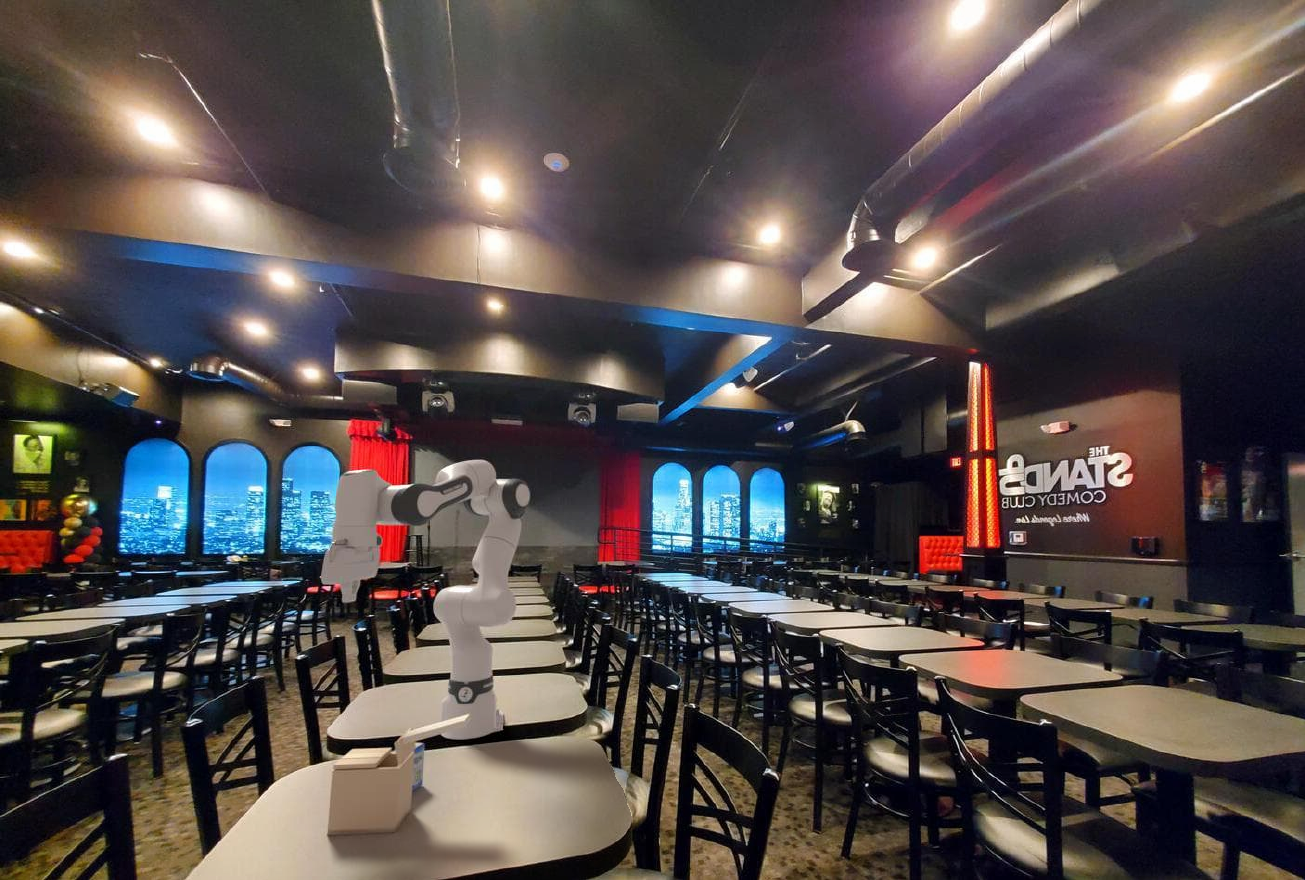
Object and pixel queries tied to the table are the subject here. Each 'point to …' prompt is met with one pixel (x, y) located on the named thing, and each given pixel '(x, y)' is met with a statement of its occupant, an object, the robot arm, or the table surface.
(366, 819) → the carton
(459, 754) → the table surface
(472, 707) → the robot arm
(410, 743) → the flap
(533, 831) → the table surface
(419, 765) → the medicine box
